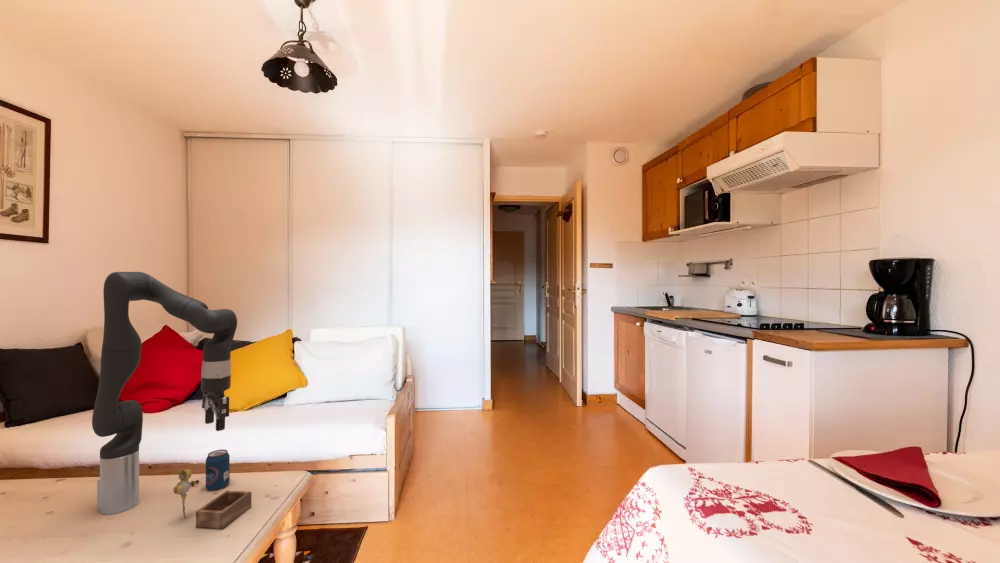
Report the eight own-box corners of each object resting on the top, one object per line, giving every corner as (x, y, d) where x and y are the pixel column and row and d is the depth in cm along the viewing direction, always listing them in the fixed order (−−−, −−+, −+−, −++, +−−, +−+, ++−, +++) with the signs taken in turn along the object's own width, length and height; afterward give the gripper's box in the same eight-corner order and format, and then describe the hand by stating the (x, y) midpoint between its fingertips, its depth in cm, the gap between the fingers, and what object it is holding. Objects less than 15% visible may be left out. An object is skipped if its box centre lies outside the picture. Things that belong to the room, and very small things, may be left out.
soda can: (200, 491, 142) (200, 456, 142) (217, 481, 149) (217, 448, 148) (218, 492, 141) (218, 457, 140) (234, 482, 147) (234, 449, 147)
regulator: (180, 525, 122) (180, 474, 122) (169, 523, 123) (169, 473, 123) (203, 511, 129) (203, 463, 129) (193, 509, 130) (193, 462, 130)
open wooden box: (195, 528, 120) (195, 511, 120) (226, 505, 132) (226, 490, 132) (222, 530, 120) (222, 513, 120) (251, 507, 132) (251, 491, 132)
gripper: (193, 372, 128) (191, 424, 128) (211, 380, 120) (209, 436, 120) (220, 368, 134) (219, 418, 135) (239, 376, 126) (237, 429, 126)
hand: (214, 426), depth 127 cm, fingers open, 8 cm apart
